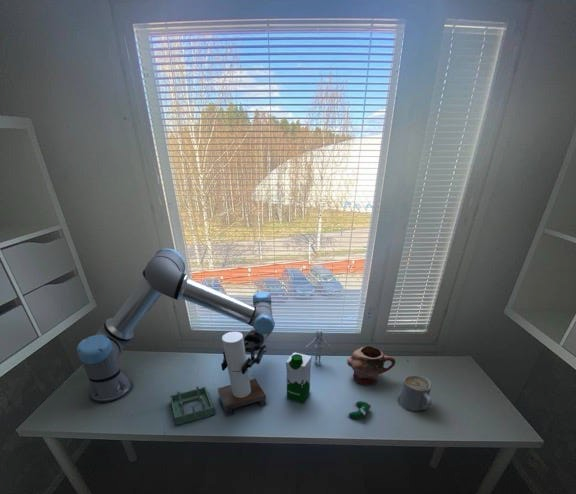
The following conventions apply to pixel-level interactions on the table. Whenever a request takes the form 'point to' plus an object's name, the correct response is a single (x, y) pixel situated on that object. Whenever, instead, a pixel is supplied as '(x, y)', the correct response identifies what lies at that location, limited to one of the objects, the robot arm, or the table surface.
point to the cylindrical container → (236, 363)
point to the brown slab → (232, 402)
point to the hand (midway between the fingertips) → (232, 369)
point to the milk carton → (298, 376)
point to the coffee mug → (416, 393)
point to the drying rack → (191, 396)
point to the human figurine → (318, 345)
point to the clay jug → (368, 364)
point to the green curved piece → (361, 410)
